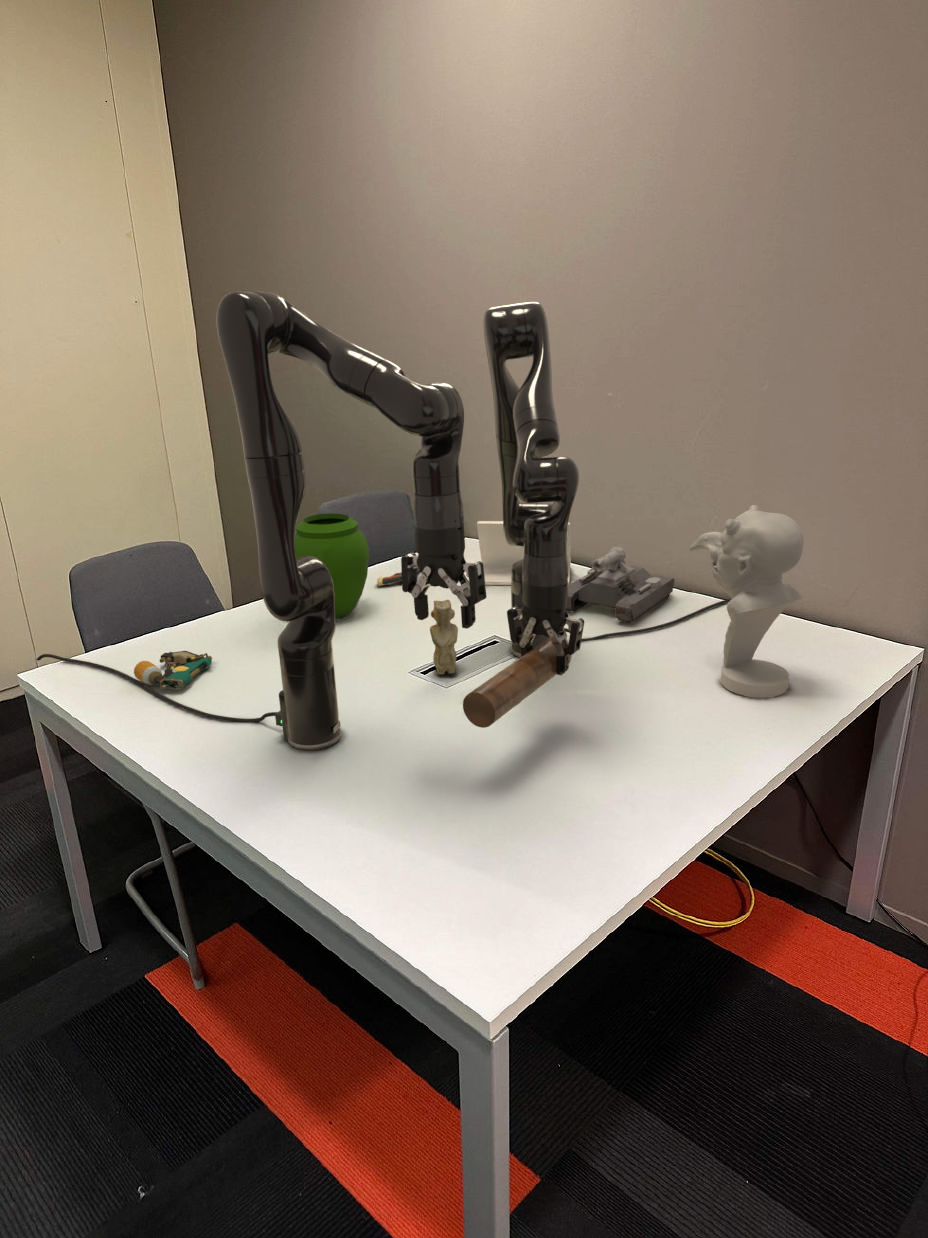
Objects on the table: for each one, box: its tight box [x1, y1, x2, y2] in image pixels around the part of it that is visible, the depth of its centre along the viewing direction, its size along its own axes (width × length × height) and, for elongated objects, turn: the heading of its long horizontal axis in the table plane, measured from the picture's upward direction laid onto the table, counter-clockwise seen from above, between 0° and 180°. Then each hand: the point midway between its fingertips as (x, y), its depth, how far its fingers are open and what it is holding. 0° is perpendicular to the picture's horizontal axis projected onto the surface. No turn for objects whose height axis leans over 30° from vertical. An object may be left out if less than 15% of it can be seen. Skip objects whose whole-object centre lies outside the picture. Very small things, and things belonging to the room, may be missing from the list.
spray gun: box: [133, 650, 213, 690], centre depth 180 cm, size 4×17×15 cm
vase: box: [295, 512, 370, 620], centre depth 209 cm, size 20×20×24 cm
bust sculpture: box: [688, 504, 804, 699], centre depth 167 cm, size 16×24×35 cm, turn 28°
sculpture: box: [429, 599, 459, 675], centre depth 177 cm, size 6×7×15 cm
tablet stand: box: [476, 520, 572, 586], centre depth 236 cm, size 18×25×17 cm
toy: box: [567, 546, 676, 624], centre depth 212 cm, size 25×20×15 cm
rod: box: [462, 638, 572, 729], centre depth 141 cm, size 26×6×6 cm, turn 146°
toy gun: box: [376, 567, 421, 587], centre depth 240 cm, size 3×19×10 cm
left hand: (445, 622), depth 133 cm, fingers open, 8 cm apart
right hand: (544, 669), depth 148 cm, fingers closed on rod, 6 cm apart
